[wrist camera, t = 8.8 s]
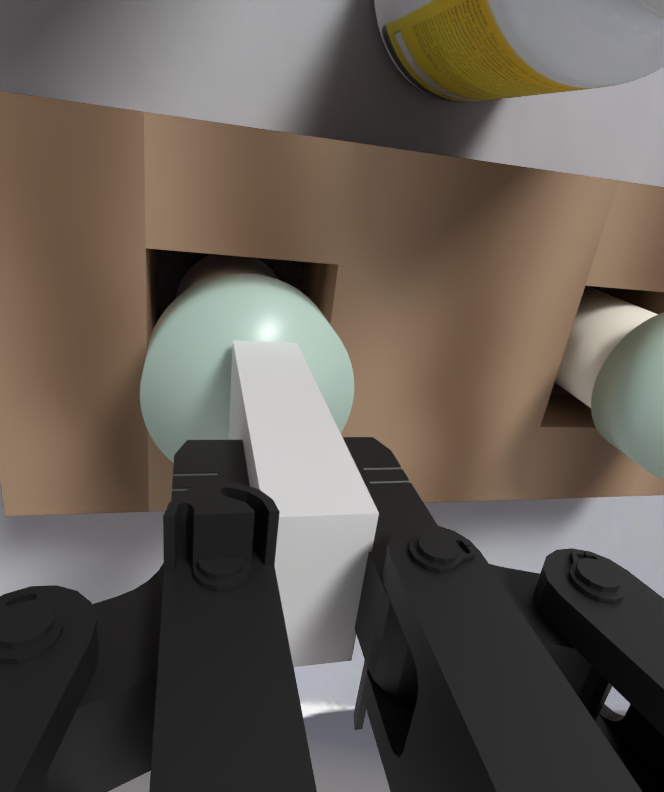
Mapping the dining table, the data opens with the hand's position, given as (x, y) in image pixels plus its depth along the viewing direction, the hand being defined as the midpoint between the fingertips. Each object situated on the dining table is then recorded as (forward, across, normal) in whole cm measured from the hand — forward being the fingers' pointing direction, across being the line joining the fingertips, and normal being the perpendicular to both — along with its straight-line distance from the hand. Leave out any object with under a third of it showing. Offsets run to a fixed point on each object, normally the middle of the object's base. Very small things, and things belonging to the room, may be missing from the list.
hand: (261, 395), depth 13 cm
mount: (+9, +7, 0) cm, 11 cm away
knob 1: (+8, 0, 0) cm, 8 cm away
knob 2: (+8, +14, 0) cm, 16 cm away
